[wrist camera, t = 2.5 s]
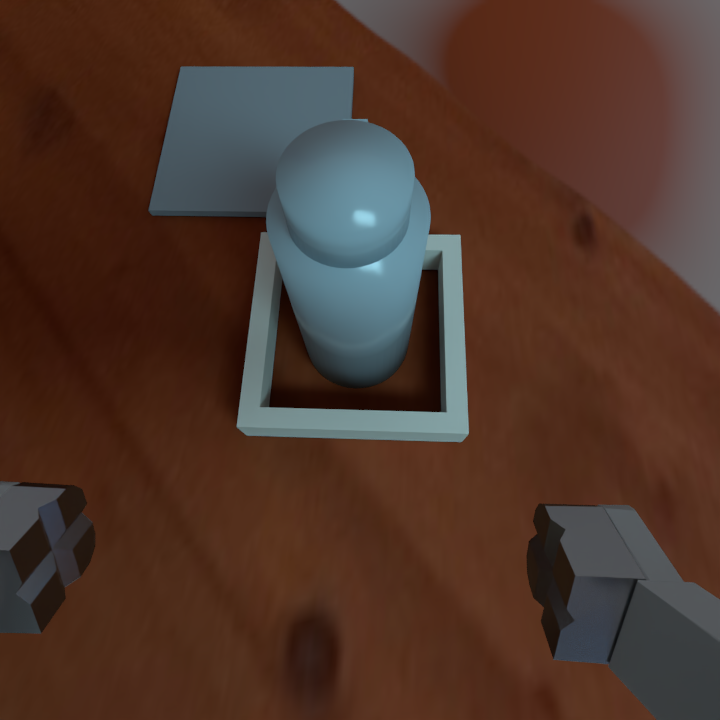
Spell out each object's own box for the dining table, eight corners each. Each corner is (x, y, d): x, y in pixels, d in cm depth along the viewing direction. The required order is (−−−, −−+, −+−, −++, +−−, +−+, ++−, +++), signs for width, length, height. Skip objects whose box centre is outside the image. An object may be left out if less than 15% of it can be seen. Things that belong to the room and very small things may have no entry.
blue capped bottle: (302, 387, 26) (241, 251, 14) (313, 255, 29) (270, 47, 17) (408, 389, 26) (439, 254, 14) (408, 257, 29) (434, 47, 17)
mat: (151, 215, 30) (148, 210, 30) (183, 73, 34) (180, 66, 34) (346, 217, 30) (345, 212, 29) (353, 73, 34) (353, 66, 33)
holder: (246, 435, 25) (236, 427, 23) (268, 252, 29) (261, 232, 27) (461, 442, 25) (468, 433, 23) (454, 255, 29) (460, 235, 27)
